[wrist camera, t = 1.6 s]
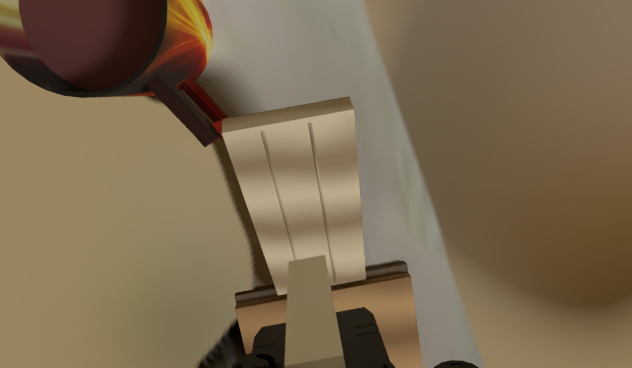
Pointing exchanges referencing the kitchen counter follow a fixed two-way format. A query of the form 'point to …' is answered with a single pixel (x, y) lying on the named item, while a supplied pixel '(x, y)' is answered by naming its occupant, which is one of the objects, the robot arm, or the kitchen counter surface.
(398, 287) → the floorboard
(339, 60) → the kitchen counter surface
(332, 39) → the kitchen counter surface
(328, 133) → the plank
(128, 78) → the mug
